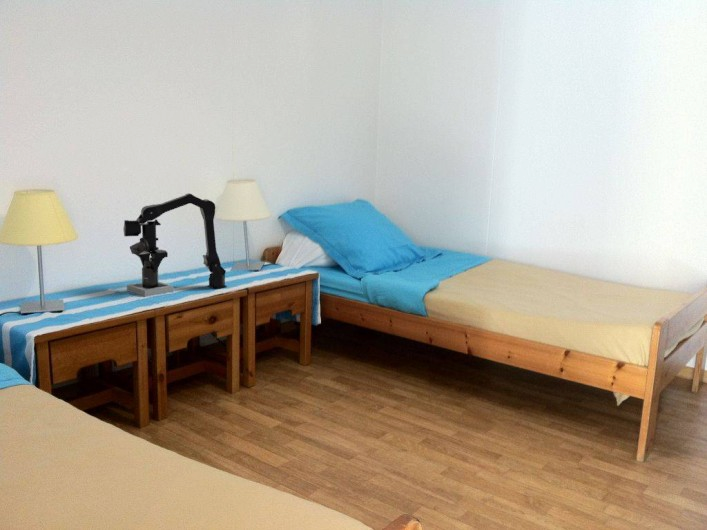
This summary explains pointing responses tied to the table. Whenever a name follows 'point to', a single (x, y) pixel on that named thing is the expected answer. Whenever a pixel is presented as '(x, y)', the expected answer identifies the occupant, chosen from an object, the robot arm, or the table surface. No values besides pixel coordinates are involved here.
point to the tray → (142, 291)
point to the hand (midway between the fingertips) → (150, 271)
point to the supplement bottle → (149, 275)
